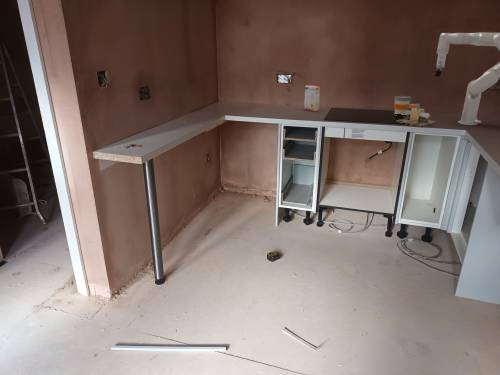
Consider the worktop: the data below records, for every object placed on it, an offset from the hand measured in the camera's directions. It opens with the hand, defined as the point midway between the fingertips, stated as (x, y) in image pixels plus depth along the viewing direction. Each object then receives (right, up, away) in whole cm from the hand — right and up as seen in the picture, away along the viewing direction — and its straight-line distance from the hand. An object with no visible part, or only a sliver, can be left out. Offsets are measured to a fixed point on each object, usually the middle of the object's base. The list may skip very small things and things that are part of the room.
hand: (437, 75), depth 281 cm
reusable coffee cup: (-14, -23, +34) cm, 43 cm away
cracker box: (-85, -14, +56) cm, 103 cm away
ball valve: (-14, -33, +5) cm, 36 cm away
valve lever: (-18, -25, -1) cm, 31 cm away
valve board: (-14, -34, +5) cm, 37 cm away
